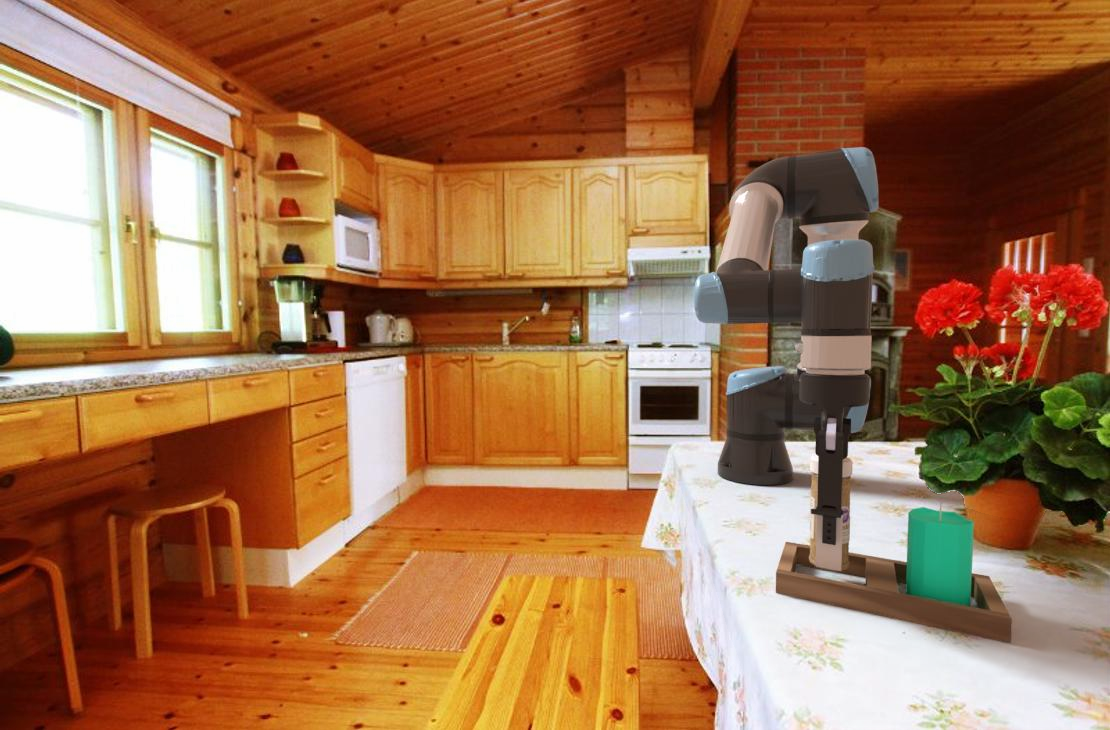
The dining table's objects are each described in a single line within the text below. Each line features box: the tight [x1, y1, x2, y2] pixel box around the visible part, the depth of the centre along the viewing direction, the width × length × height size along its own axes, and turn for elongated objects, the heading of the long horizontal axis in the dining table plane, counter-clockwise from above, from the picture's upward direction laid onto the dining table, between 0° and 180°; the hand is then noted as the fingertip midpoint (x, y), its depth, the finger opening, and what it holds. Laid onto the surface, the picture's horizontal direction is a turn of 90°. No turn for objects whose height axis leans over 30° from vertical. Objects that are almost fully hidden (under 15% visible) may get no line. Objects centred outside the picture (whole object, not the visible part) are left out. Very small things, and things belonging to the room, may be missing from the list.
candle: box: [905, 502, 975, 607], centre depth 61 cm, size 6×6×12 cm
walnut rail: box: [775, 541, 1013, 644], centre depth 64 cm, size 10×22×2 cm, turn 61°
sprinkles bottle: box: [809, 454, 853, 572], centre depth 66 cm, size 5×5×14 cm
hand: (829, 559), depth 66 cm, fingers closed on sprinkles bottle, 4 cm apart
